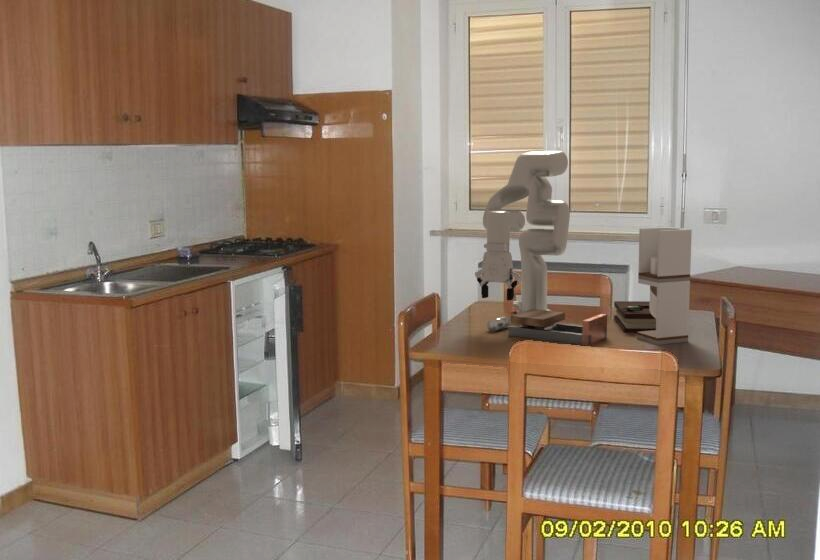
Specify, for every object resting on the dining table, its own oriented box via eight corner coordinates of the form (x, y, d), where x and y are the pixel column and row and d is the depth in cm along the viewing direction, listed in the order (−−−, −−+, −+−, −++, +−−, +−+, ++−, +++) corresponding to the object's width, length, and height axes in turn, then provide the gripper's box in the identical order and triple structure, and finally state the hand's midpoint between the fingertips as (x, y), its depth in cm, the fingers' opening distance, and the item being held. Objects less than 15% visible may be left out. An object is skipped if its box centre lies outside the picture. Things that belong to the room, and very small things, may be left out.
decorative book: (664, 298, 306) (682, 312, 276) (664, 318, 307) (681, 335, 277) (609, 297, 308) (621, 312, 278) (609, 318, 309) (621, 335, 279)
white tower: (666, 335, 276) (669, 227, 271) (688, 341, 266) (691, 229, 261) (636, 338, 272) (639, 228, 267) (657, 344, 262) (660, 230, 257)
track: (508, 335, 279) (508, 312, 278) (529, 328, 290) (529, 306, 289) (588, 345, 263) (588, 321, 261) (606, 337, 274) (607, 314, 273)
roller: (487, 331, 287) (487, 319, 287) (499, 327, 294) (499, 315, 293) (497, 332, 285) (497, 320, 284) (509, 328, 291) (509, 317, 291)
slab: (510, 323, 277) (510, 315, 277) (532, 316, 289) (532, 309, 289) (543, 326, 270) (543, 319, 270) (564, 319, 282) (564, 312, 282)
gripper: (470, 247, 287) (469, 298, 289) (515, 250, 277) (514, 302, 279) (481, 246, 293) (481, 295, 295) (526, 248, 283) (525, 299, 285)
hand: (497, 298), depth 287 cm, fingers open, 9 cm apart
